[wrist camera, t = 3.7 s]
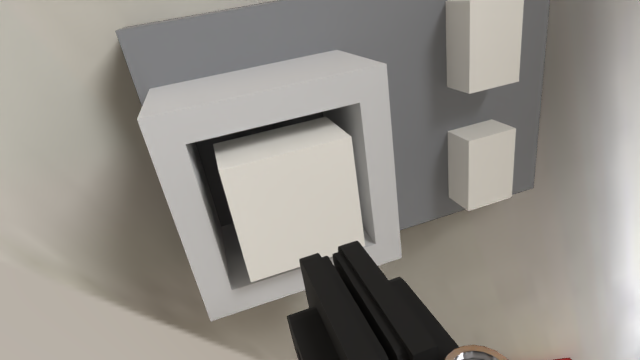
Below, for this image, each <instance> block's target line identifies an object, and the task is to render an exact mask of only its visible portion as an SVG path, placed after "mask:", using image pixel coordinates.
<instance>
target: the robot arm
mask: <svg viewBox="0 0 640 360" xmlns="http://www.w3.org/2000/svg"><path fill="white" fill-rule="evenodd" d="M299 262H300V267H301V272H302V277H303V281H304V286H305V290H306V295H307V300H308V304H309V309H306V310H303V311H300V312H297V313H294V314H292V315H289V316H287V319H288V323H289V327H290V331H291V335H292V339H293V343H294V346H295V350H296V353H297V357H298V360H508V359H507V358H506V357H504V356H503V355H501V354H500V353H498V352H497V351H495V350H493V349H490V348H487V347H485V346H478V345H468V346H462V347H459V346H458V345H457V344H456V343H455V341H454V340H453V339H452V338H451V337H450V335H449V334H448V333H447V332H446V331H445V329H444V328H443V327H442V326H441V324H440V323H439V322H438V321H437V320H436V318H435V317H434V316H433V315H432V314H431V312H430V311H429V310H428V309H427V307H426V306H425V305H424V304H423V303H422V301H421V300H420V299H419V298H418V297H417V295H416V294H415V293H414V292H413V290H412V289H411V288H410V287H409V286H408V284H407V283H406V282H405V281H404V280H403V279H402V278H400V277H398V278H395V279H392V280H388V279H387V278H386V276H385V275H384V274H383V273H382V271H381V270H380V269H379V267H378V266H377V265H376V263H375V262H374V261H373V259H372V258H371V257H370V256H369V254H368V253H367V252H366V250H365V249H364V248H363V246H362V245H361V244H360V243H359V242H358V241H354V242H351V243H347V244H344V245H341V246H339V247H338V252H337V253H334V254H333V263H334V265H333V263H332V262H331V260H330V258H329V257H328V256H324V257H321V255H320V254H319V253H316V254H313V255H310V256H307V257H304V258H301V259H299Z"/></svg>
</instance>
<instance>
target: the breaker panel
mask: <svg viewBox="0 0 640 360" xmlns="http://www.w3.org/2000/svg"><path fill="white" fill-rule="evenodd" d="M549 6H550V0H278V1H272V2H266V3H261V4H255V5H249V6H243V7H238V8H232V9H226V10H221V11H215V12H209V13H204V14H198V15H192V16H187V17H181V18H175V19H170V20H164V21H158V22H153V23H147V24H141V25H135V26H130V27H124V28H122V29H119V30H116V34H117V37H118V40H119V43H120V46H121V48H122V51H123V54H124V57H125V60H126V63H127V65H128V68H129V71H130V74H131V77H132V79H133V82H134V85H135V88H136V91H137V94H138V96H139V99H140V102H141V105H142V108H141V111H140V113H139V116H138V118H137V121H138V123H139V126H140V129H141V132H142V134H143V137H144V140H145V143H146V145H147V148H148V151H149V154H150V156H151V159H152V162H153V165H154V167H155V170H156V173H157V176H158V178H159V181H160V184H161V187H162V189H163V192H164V195H165V198H166V200H167V203H168V206H169V209H170V211H171V214H172V217H173V220H174V222H175V225H176V228H177V231H178V233H179V236H180V239H181V242H182V244H183V247H184V250H185V253H186V255H187V258H188V261H189V263H190V266H191V269H192V272H193V274H194V277H195V280H196V283H197V285H198V288H199V291H200V294H201V296H202V299H203V302H204V305H205V307H206V310H207V313H208V316H209V318H210V321H214V320H217V319H220V318H223V317H226V316H229V315H232V314H235V313H238V312H241V311H244V310H247V309H250V308H253V307H256V306H259V305H262V304H265V303H268V302H271V301H274V300H277V299H280V298H283V297H286V296H289V295H292V294H295V293H298V292H301V291H304V290H305V286H304V281H303V277H302V272H301V267H298V268H295V269H291V270H288V271H285V272H282V273H279V274H276V275H273V276H269V277H266V278H263V279H260V280H257V281H254V282H251V281H250V278H249V274H248V271H247V267H246V264H245V260H244V257H243V254H242V250H241V247H240V243H239V240H238V236H237V233H236V229H235V226H234V222H233V219H232V215H231V212H230V209H229V205H228V202H227V198H226V195H225V191H224V188H223V184H222V181H221V177H220V174H219V170H218V166H217V161H216V156H215V151H214V147H213V144H215V143H219V142H223V141H227V140H232V139H236V138H240V137H244V136H248V135H252V134H256V133H260V132H264V131H269V130H273V129H277V128H281V127H285V126H289V125H293V124H297V123H301V122H306V121H310V120H314V119H318V118H322V117H327V118H328V119H329V120H331V121H332V122H333V123H335V124H336V125H337V126H338V127H340V128H341V129H342V130H344V131H345V132H346V133H347V134H349V135H350V136H351V137H352V145H353V153H354V161H355V169H356V177H357V185H358V193H359V200H360V208H361V216H362V224H363V232H364V240H365V246H363V248H364V249H365V250H366V252H367V253H368V254H369V256H370V257H371V258H372V259H373V261H374V262H375V263H376V265H377V266H379V265H382V264H385V263H388V262H391V261H394V260H397V259H400V258H402V253H401V240H400V230H402V229H406V228H409V227H412V226H415V225H418V224H421V223H425V222H428V221H431V220H434V219H437V218H440V217H443V216H447V215H450V214H453V213H456V212H459V211H462V210H467V211H471V210H474V209H477V208H480V207H483V206H487V205H490V204H493V203H496V202H499V201H502V200H505V199H509V198H512V195H513V194H516V193H519V192H522V191H525V190H529V189H532V188H534V177H535V166H536V154H537V143H538V132H539V120H540V109H541V97H542V86H543V74H544V63H545V51H546V40H547V28H548V17H549ZM329 258H330V260H331V262H332V263H333V256H332V257H329ZM333 265H334V263H333Z"/></svg>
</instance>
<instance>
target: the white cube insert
mask: <svg viewBox="0 0 640 360" xmlns="http://www.w3.org/2000/svg"><path fill="white" fill-rule="evenodd" d="M213 147H214V151H215V156H216V161H217V166H218V170H219V174H220V177H221V181H222V184H223V188H224V191H225V195H226V198H227V202H228V205H229V209H230V212H231V215H232V219H233V222H234V226H235V229H236V233H237V236H238V240H239V243H240V247H241V250H242V254H243V257H244V260H245V264H246V267H247V271H248V274H249V278H250V281H251V282H254V281H257V280H260V279H263V278H266V277H269V276H273V275H276V274H279V273H282V272H285V271H288V270H291V269H295V268H298V267H300V262H299V259H301V258H304V257H307V256H310V255H313V254H316V253H319V254H320V255H321V257H324V256H328V257H332V256H333V254H334V253H337V252H338V247H339V246H341V245H344V244H347V243H351V242H354V241H358V242H359V243H360V244H361V245H362V246H365V240H364V232H363V224H362V216H361V208H360V200H359V193H358V185H357V177H356V169H355V161H354V153H353V145H352V137H351V136H350V135H349V134H347V133H346V132H345V131H344V130H342V129H341V128H340V127H338V126H337V125H336V124H335V123H333V122H332V121H331V120H329V119H328V118H327V117H322V118H318V119H314V120H310V121H306V122H301V123H297V124H293V125H289V126H285V127H281V128H277V129H273V130H269V131H264V132H260V133H256V134H252V135H248V136H244V137H240V138H236V139H232V140H227V141H223V142H219V143H215V144H213Z"/></svg>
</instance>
